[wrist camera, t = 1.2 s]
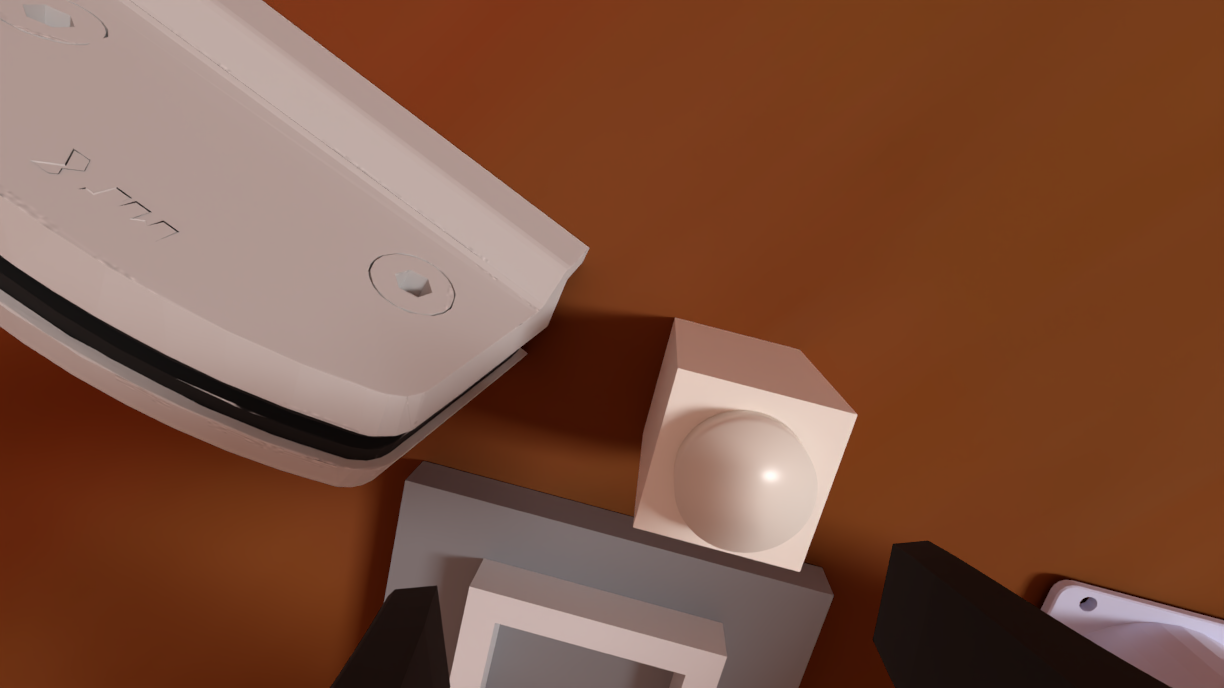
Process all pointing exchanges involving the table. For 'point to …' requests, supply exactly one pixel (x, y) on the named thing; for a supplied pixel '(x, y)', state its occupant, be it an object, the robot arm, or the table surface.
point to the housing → (594, 594)
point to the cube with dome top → (739, 446)
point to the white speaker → (253, 234)
